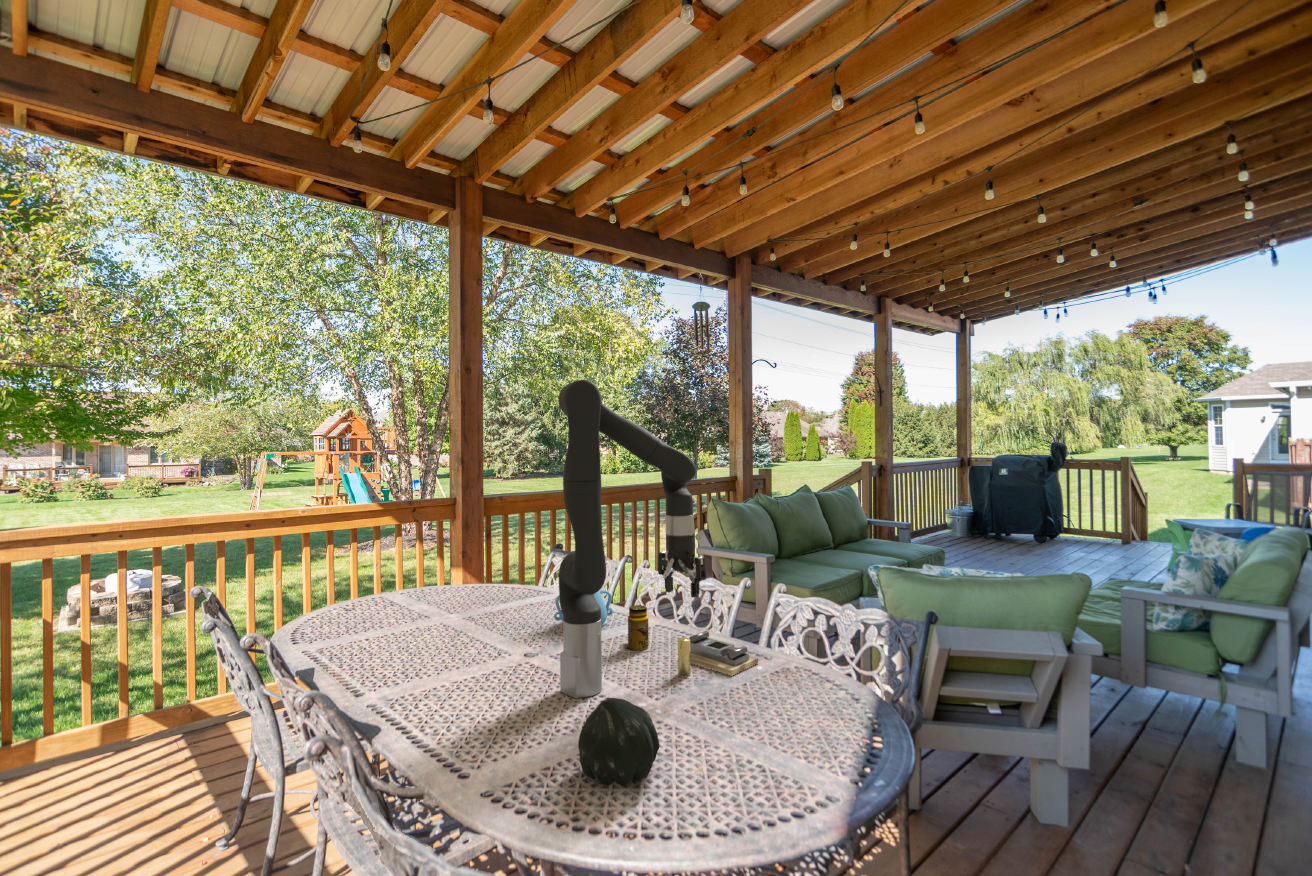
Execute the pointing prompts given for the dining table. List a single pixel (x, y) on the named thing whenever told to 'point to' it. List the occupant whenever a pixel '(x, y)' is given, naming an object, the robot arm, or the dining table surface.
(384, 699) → the dining table surface
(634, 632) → the condiment
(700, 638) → the clamp block fixture
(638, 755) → the squash
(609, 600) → the decorative pot
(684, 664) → the brass pin
